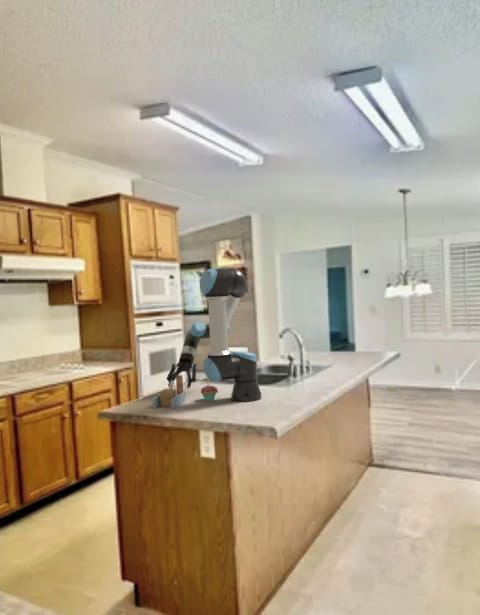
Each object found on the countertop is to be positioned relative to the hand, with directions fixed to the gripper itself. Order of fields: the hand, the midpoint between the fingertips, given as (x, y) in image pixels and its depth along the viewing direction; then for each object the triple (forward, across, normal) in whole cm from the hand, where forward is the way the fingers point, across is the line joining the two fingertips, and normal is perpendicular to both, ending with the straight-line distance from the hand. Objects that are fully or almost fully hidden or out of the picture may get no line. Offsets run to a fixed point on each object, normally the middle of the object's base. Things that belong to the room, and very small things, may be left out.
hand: (177, 392), depth 248 cm
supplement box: (-38, -13, -44) cm, 60 cm away
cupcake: (+2, -17, -3) cm, 17 cm away
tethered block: (+6, 0, 0) cm, 6 cm away
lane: (+10, 0, +5) cm, 12 cm away
